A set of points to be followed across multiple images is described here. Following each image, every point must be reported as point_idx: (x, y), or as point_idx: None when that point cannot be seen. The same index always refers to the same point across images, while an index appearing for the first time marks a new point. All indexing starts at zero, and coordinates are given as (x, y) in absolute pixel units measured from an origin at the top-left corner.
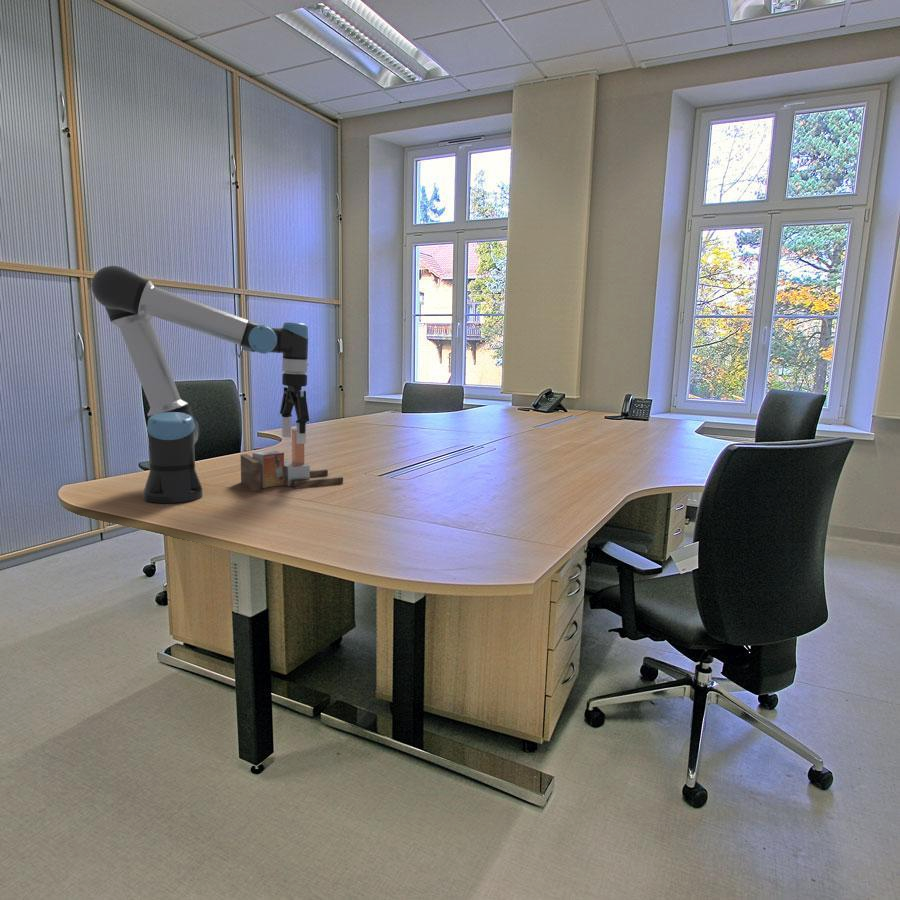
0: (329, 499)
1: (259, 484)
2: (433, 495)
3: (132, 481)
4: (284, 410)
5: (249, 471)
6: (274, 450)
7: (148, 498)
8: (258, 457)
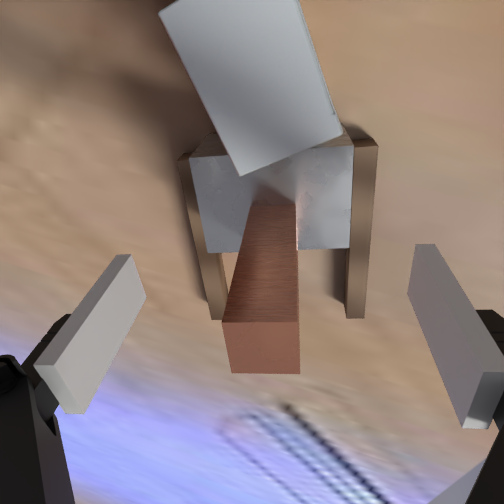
0: (16, 213)
1: None
2: (58, 409)
3: None
4: (494, 464)
5: None
6: (325, 137)
7: None
8: None
